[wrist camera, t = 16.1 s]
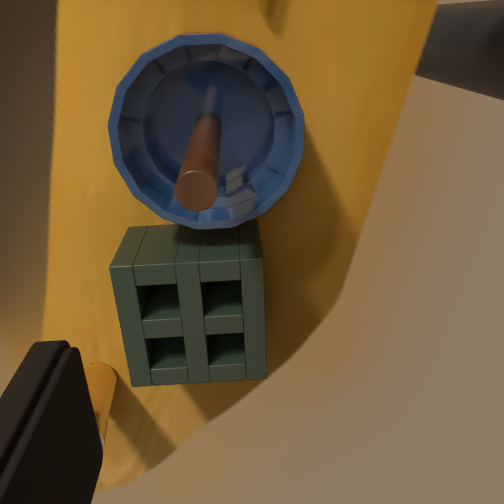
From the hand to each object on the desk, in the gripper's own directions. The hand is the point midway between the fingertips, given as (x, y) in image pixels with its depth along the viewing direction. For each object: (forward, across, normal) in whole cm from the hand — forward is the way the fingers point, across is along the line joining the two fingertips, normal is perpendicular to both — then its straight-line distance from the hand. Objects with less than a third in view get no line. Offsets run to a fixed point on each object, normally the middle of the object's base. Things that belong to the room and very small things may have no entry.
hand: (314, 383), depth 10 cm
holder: (+28, +5, +13) cm, 32 cm away
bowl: (+28, +3, 0) cm, 28 cm away
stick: (+28, +3, 0) cm, 28 cm away
